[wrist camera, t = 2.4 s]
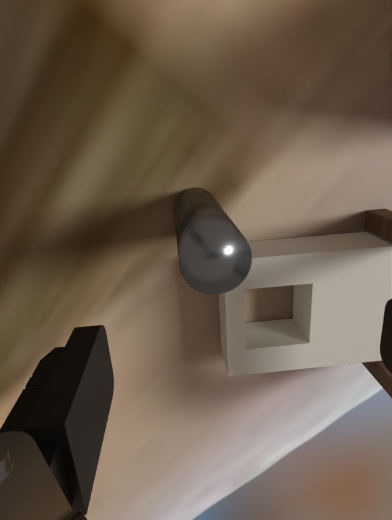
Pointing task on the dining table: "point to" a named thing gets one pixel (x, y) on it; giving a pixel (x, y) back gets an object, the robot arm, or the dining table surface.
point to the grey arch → (388, 227)
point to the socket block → (311, 304)
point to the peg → (209, 244)
